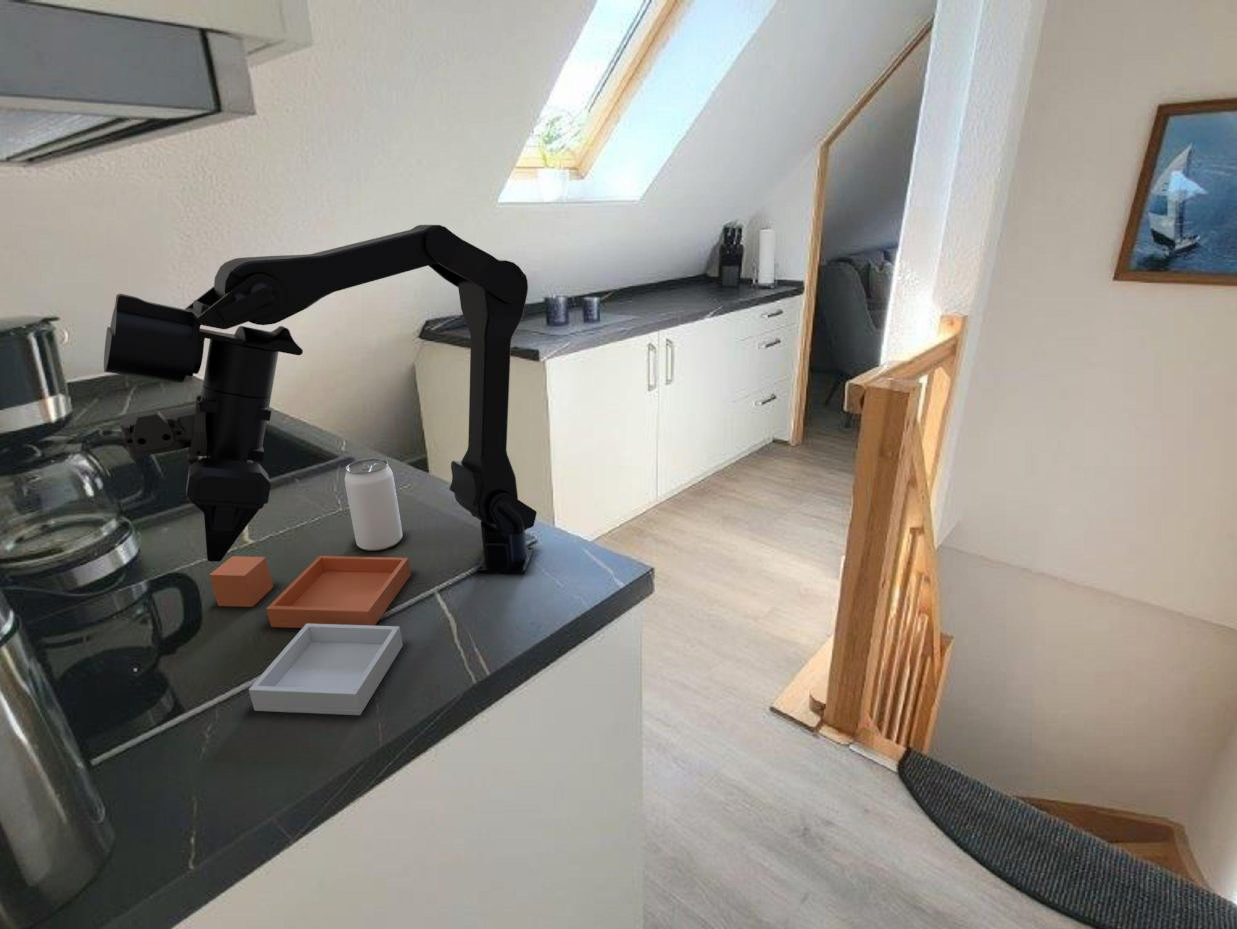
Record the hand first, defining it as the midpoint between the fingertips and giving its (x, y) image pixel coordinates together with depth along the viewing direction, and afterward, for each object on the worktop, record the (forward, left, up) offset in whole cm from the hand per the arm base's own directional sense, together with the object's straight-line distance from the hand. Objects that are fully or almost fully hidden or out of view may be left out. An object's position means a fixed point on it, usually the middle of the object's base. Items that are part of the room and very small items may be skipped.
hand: (212, 543), depth 65 cm
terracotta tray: (-12, +5, -15) cm, 20 cm away
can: (-27, +3, -15) cm, 31 cm away
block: (-12, -8, -15) cm, 21 cm away
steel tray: (+2, +11, -15) cm, 18 cm away
